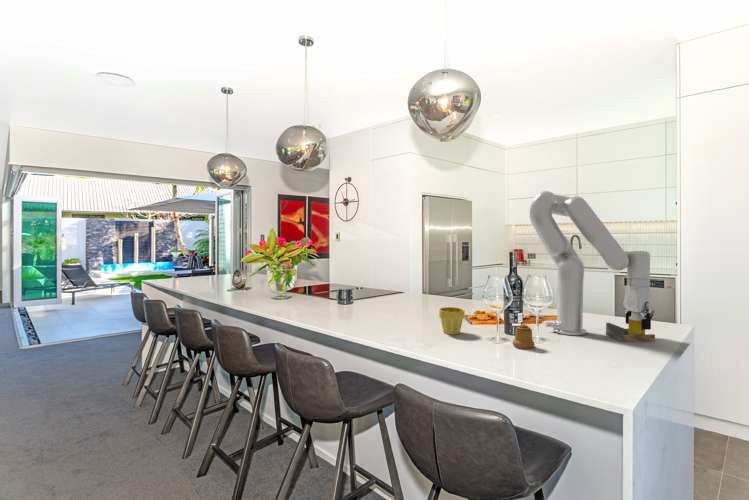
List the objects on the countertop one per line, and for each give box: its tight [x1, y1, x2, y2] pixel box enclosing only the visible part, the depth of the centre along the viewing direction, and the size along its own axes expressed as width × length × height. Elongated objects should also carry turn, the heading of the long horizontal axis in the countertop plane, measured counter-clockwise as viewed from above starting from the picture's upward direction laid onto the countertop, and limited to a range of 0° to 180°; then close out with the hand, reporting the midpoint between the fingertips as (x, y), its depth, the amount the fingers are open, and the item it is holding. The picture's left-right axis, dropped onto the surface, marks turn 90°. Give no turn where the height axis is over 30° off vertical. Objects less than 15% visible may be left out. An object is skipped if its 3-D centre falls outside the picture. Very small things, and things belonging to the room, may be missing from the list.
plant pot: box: [438, 306, 466, 336], centre depth 171 cm, size 10×10×10 cm
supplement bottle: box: [627, 312, 646, 335], centre depth 161 cm, size 6×6×10 cm
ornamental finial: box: [512, 323, 535, 350], centre depth 150 cm, size 8×8×8 cm
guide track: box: [605, 322, 656, 343], centre depth 161 cm, size 13×10×5 cm
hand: (637, 326), depth 161 cm, fingers open, 9 cm apart
